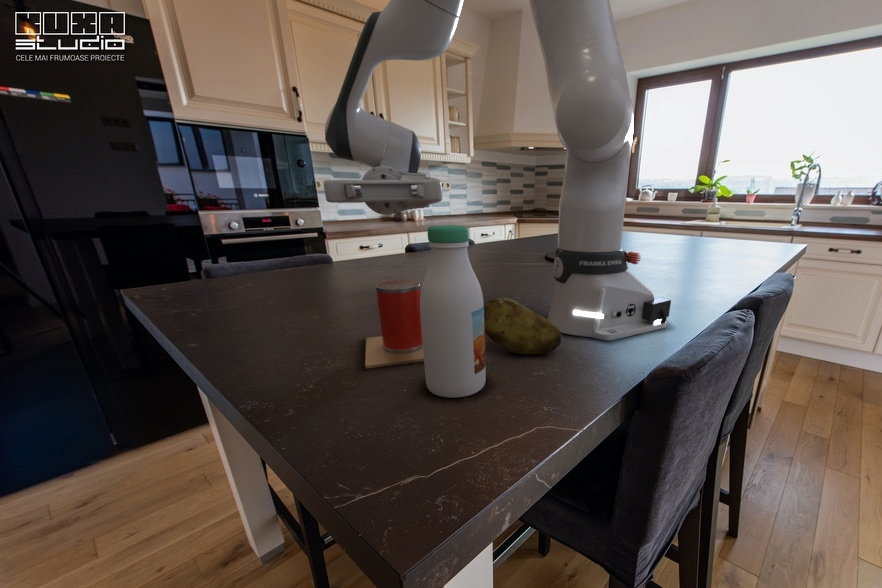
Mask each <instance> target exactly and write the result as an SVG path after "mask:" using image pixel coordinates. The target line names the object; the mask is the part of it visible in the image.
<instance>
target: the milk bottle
mask: <svg viewBox="0 0 882 588" xmlns="http://www.w3.org/2000/svg"><path fill="white" fill-rule="evenodd" d="M427 240H428V245H427V246H428V247H429V248H430V260H429V263H428V267H427V270H426V273H425V276H424V279H423V280H422V281H423V282H422V285H421V287H420V293H421V294H420V316H421V329H422V343H423V355H424V361H423V362H424V363H423V365H424V374H425V375H424V376H425V377H424V379H425V386H426V387H427V389H428V390H429V392H430V393H432V394H433V395H436V396H438V397H443V398H451V399H454V398H463V397H468V396H472V395H475V394H476V393H478V392H479V391H481V390H482V389H483V388H484V387H485V385H486V380H487V377H486V376H487V371H486V370H487V369H486V368H487V364H486V363H487V362H486V361H487V360H486V333H485V325H484V305H483V304H484V296H483V292H482V288H481V284H480V282H479V280H478V278H477V275H476V273H475V271H474V269H473V266H472V265H471V264H472V263H471V261H470V258H469V254H468V247H470V244H469V240H470V232H469V227H468V226H465V225H458V224H441V225H431V226H428V227H427Z"/></svg>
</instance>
